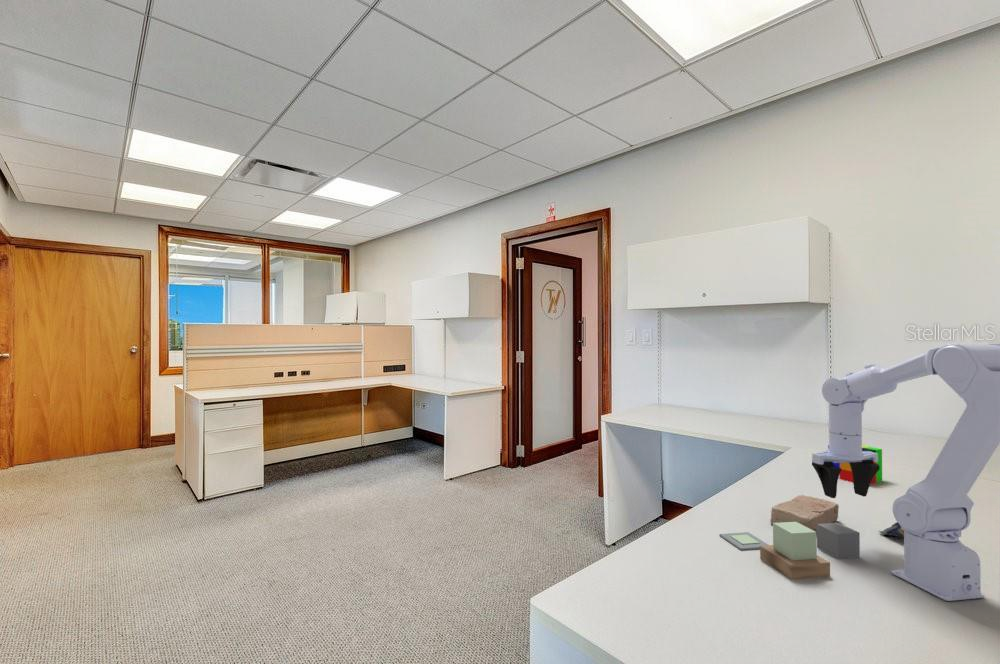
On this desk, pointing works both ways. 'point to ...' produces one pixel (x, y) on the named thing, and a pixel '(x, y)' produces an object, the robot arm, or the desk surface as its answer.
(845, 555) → the charcoal block
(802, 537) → the sage block
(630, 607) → the desk surface
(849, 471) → the puzzle toy
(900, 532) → the snack package
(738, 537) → the plaque
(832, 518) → the brick
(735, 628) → the desk surface
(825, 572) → the light brown block
